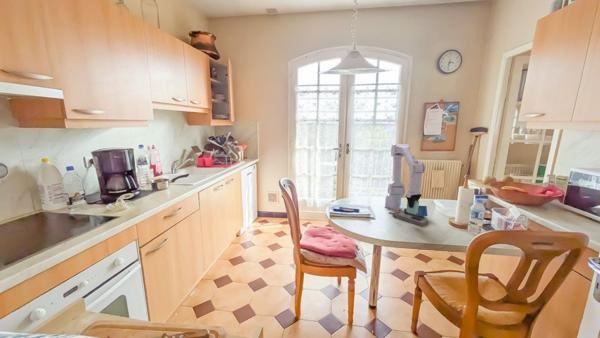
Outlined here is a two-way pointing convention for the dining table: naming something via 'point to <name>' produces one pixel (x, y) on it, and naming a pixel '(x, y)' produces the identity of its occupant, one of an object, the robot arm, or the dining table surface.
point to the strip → (410, 218)
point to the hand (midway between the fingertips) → (412, 206)
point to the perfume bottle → (419, 211)
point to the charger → (414, 209)
